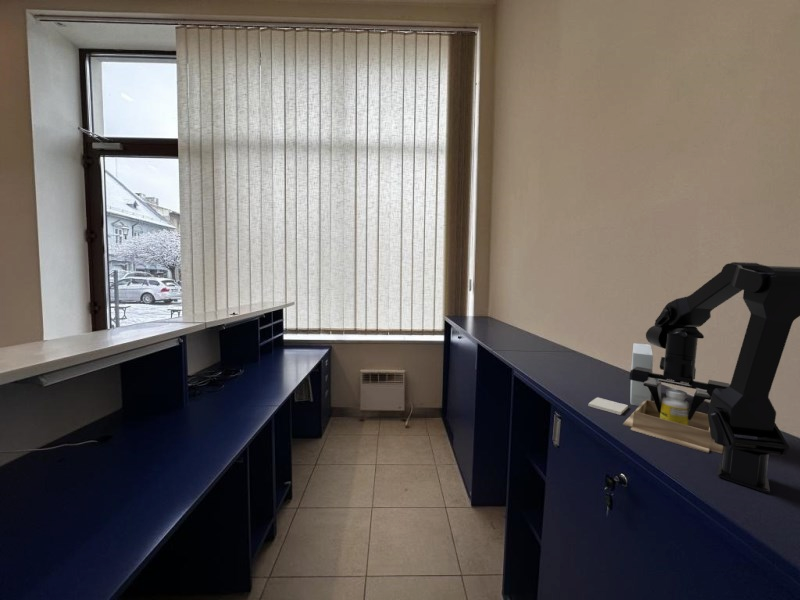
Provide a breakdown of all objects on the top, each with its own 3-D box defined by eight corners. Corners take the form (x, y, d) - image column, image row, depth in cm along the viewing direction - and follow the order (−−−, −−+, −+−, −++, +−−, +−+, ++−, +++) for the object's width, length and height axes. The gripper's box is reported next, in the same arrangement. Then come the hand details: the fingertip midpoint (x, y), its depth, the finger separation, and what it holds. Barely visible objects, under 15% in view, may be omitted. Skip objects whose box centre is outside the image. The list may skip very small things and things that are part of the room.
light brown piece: (721, 457, 69) (723, 438, 69) (620, 426, 82) (622, 411, 82) (724, 432, 81) (726, 416, 81) (636, 409, 94) (638, 395, 94)
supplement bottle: (657, 422, 85) (660, 385, 85) (684, 428, 83) (688, 390, 82) (661, 430, 81) (664, 391, 80) (689, 436, 78) (694, 396, 77)
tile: (620, 415, 90) (620, 412, 89) (588, 405, 95) (588, 403, 95) (627, 407, 95) (628, 405, 95) (596, 399, 101) (597, 397, 101)
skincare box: (629, 387, 116) (633, 342, 115) (648, 390, 112) (653, 344, 111) (628, 404, 98) (632, 351, 97) (650, 409, 95) (655, 354, 94)
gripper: (735, 356, 79) (728, 419, 80) (640, 343, 93) (635, 397, 94) (734, 363, 72) (726, 433, 73) (631, 348, 85) (626, 407, 86)
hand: (674, 415), depth 81 cm, fingers closed on supplement bottle, 5 cm apart
